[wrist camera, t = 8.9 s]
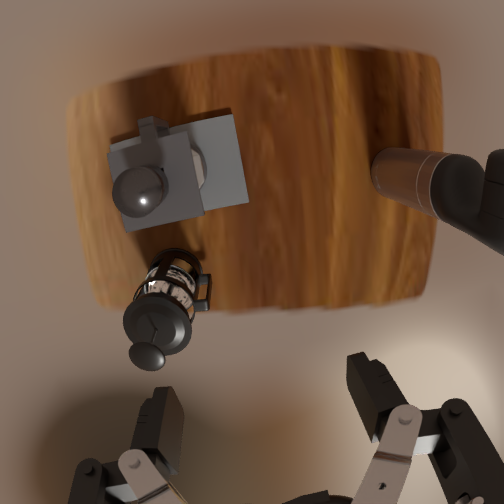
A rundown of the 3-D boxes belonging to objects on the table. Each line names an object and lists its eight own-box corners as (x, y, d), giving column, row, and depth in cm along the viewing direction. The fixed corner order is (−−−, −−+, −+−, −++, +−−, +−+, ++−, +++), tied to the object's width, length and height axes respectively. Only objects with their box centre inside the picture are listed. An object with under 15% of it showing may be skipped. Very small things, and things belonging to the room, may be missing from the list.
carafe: (197, 117, 42) (182, 104, 28) (212, 194, 46) (205, 216, 32) (138, 132, 41) (101, 129, 28) (155, 207, 46) (125, 233, 32)
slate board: (232, 114, 43) (232, 114, 42) (248, 200, 48) (248, 202, 47) (112, 145, 43) (109, 145, 42) (131, 225, 48) (129, 227, 46)
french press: (151, 298, 52) (115, 387, 31) (142, 250, 49) (90, 323, 28) (215, 295, 53) (209, 388, 31) (209, 245, 50) (197, 321, 28)
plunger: (181, 155, 37) (153, 161, 23) (187, 187, 39) (165, 211, 25) (149, 163, 37) (107, 175, 23) (156, 195, 39) (119, 222, 25)
